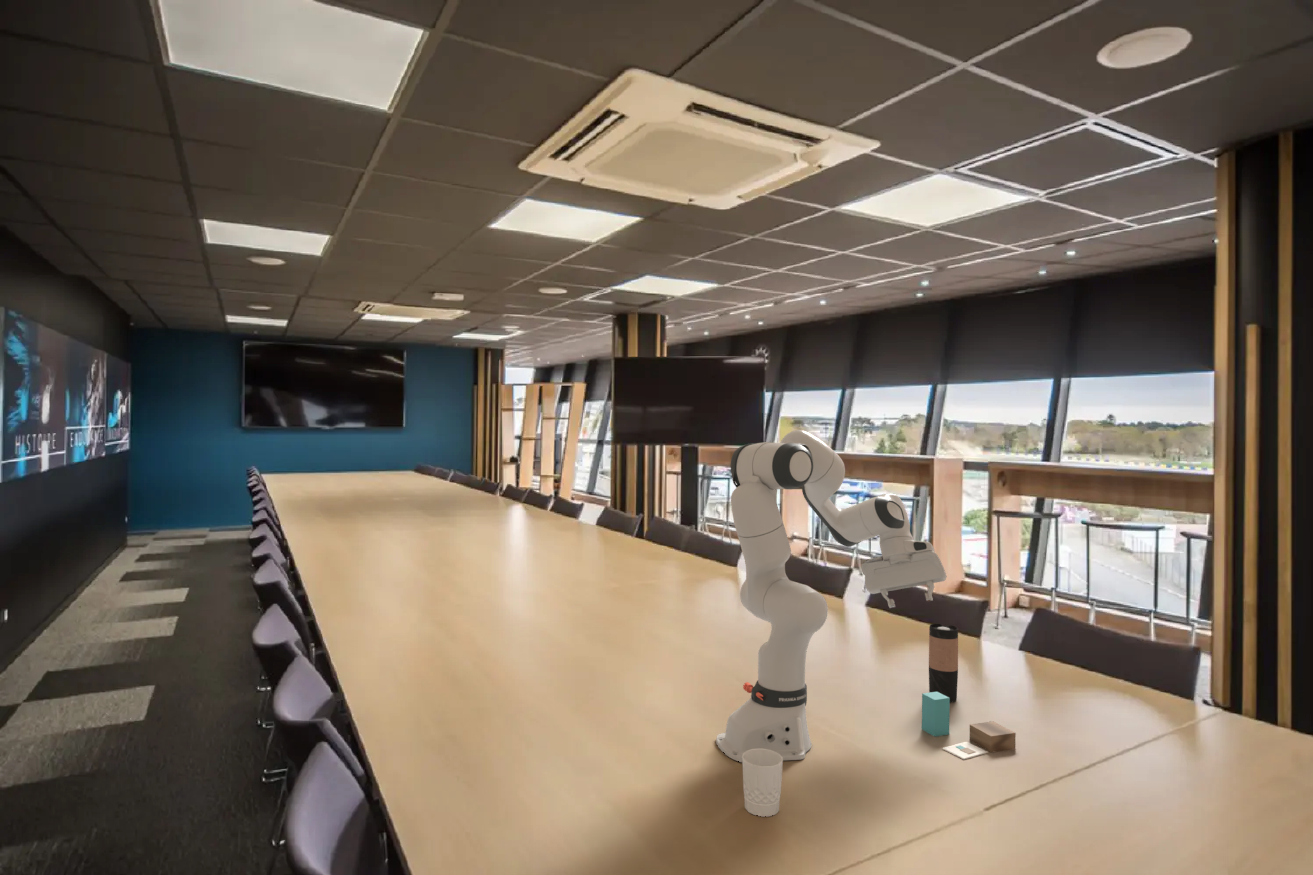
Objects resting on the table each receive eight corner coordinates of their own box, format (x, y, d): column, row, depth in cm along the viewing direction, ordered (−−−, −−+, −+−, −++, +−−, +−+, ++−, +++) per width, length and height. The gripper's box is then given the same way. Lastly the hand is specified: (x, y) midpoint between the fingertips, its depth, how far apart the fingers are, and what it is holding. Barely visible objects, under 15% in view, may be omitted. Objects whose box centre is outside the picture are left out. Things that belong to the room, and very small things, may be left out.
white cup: (777, 797, 142) (778, 748, 142) (786, 818, 134) (786, 766, 134) (738, 797, 142) (739, 748, 142) (745, 819, 134) (745, 766, 134)
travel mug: (940, 704, 193) (940, 631, 193) (922, 694, 200) (923, 624, 200) (963, 701, 195) (964, 629, 195) (945, 691, 202) (946, 622, 202)
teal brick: (934, 736, 172) (934, 699, 172) (921, 729, 176) (922, 693, 176) (949, 734, 173) (949, 697, 173) (936, 726, 177) (936, 691, 177)
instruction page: (963, 759, 159) (963, 757, 159) (942, 749, 165) (942, 747, 165) (987, 752, 163) (987, 751, 163) (965, 742, 168) (965, 740, 168)
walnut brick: (991, 753, 163) (991, 736, 163) (969, 740, 170) (969, 724, 170) (1015, 749, 165) (1015, 732, 165) (993, 737, 172) (993, 721, 172)
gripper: (857, 557, 189) (867, 607, 182) (936, 541, 181) (950, 593, 174) (862, 564, 194) (872, 613, 186) (939, 548, 186) (953, 599, 179)
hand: (910, 603), depth 180 cm, fingers open, 8 cm apart
